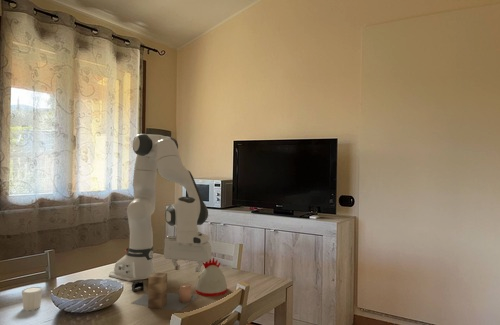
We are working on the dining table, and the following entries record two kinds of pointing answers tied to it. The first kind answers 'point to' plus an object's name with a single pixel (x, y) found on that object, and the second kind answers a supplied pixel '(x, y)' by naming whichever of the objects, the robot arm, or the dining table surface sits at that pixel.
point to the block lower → (157, 299)
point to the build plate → (137, 284)
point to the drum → (185, 293)
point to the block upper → (157, 282)
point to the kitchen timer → (211, 280)
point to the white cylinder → (32, 298)
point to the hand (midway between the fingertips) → (187, 270)
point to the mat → (171, 301)
